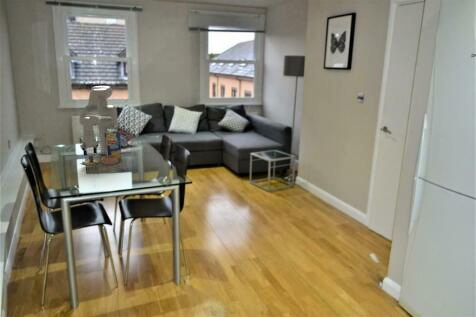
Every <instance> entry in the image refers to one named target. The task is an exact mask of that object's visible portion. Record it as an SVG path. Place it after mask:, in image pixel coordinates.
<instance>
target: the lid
mask: <svg viewBox="0 0 476 317" xmlns="http://www.w3.org/2000/svg"><path fill="white" fill-rule="evenodd" d="M101 162H102V160H101V159H94V155H93V154H91V155H88V160H84V161H82V162H81V163H82V164H81V165H84V166H89V165H92V166H95V165H99V164H102V163H101Z"/></svg>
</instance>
